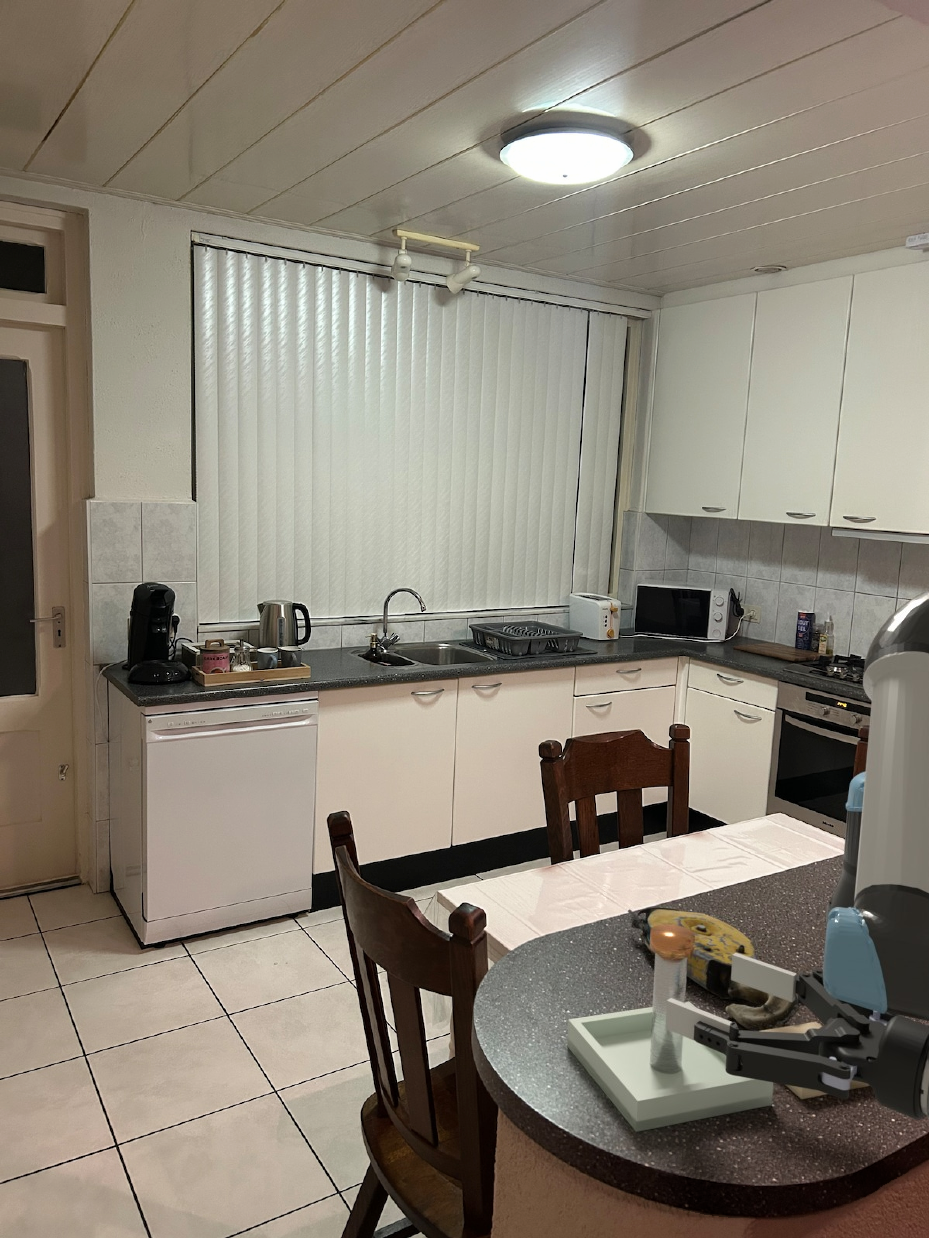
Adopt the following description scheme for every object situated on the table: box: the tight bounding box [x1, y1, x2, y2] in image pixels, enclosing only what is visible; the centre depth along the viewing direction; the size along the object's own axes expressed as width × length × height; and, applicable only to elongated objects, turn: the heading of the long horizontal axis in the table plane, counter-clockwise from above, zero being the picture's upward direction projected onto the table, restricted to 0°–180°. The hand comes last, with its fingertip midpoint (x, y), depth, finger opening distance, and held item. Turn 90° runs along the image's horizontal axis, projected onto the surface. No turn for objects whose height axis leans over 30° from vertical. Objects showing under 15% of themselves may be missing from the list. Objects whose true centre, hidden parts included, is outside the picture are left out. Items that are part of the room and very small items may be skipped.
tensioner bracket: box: [763, 1021, 871, 1100], centre depth 97 cm, size 9×9×2 cm
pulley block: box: [627, 906, 801, 1031], centre depth 116 cm, size 14×6×30 cm
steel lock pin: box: [650, 924, 695, 1074], centre depth 94 cm, size 4×4×14 cm
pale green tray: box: [566, 1001, 774, 1133], centre depth 95 cm, size 15×15×3 cm
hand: (702, 987), depth 91 cm, fingers open, 13 cm apart
